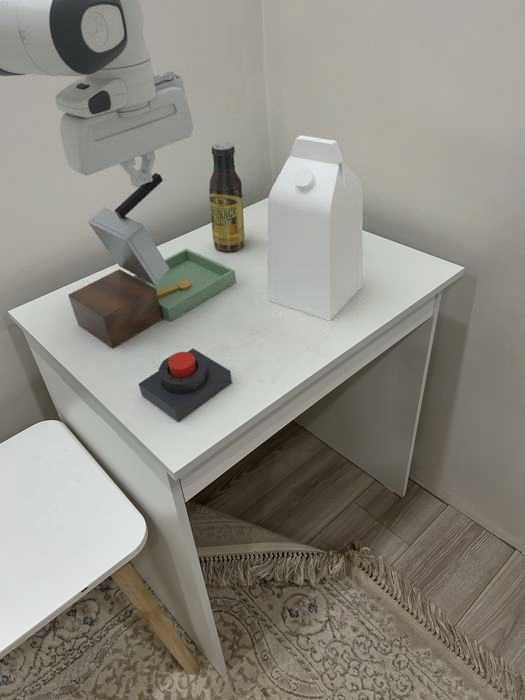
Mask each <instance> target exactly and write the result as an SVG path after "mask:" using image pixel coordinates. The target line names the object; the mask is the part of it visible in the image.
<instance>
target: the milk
mask: <svg viewBox="0 0 525 700" xmlns="http://www.w3.org/2000/svg"><path fill="white" fill-rule="evenodd" d="M337 141H338V140H333V139H326V138H320V137H314V136H307V135H303V134H302V135H299V136H296V138H295V140H294V143H293V145H292V148H291V151H290V154H289V157H288V158H287V160H286V162H284V163H285V164H284V165H283V167H282V168H281V171H280V172H279V174H278V176H277V178H276V180H275V182H274V183H273V186H271V187H272V188H271V190H270V192H269V194H268V199H267V301H269V302H271V303H275V304H278V305H280V306H281V305H282V306H284V307H286V308H290V309H292V310H296V311H298V312H301V313H305V314H308V315H311V316H314V317H317V318H320V319H323V320H325V321H328V322H331V321H332V320H333V318H334V317H335V316H336V315H337V314H338V313H339V312H340V311H341V310H342V309H343V308H344V307H345V306H346V305H347V303H349V301H350V300H351V299H352V298H353V297H354V296H355V295H356V294H357V293H358V292H359V291H360V290H361V289H362V287H363V233H364V231H363V224H364V223H363V221H364V220H363V217H364V216H363V215H364V214H363V213H364V207H363V206H364V190H363V189H364V188H363V184H362V181H361V179H360V178H359V177H358V176H357V174H356V173H355V172H354V171H353V170H352V169H351V168H350V167H349V166H348V165H347V163H345V162H344V158H343V156H342V153H341V150H340V146H339V144H338V142H337Z"/></svg>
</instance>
